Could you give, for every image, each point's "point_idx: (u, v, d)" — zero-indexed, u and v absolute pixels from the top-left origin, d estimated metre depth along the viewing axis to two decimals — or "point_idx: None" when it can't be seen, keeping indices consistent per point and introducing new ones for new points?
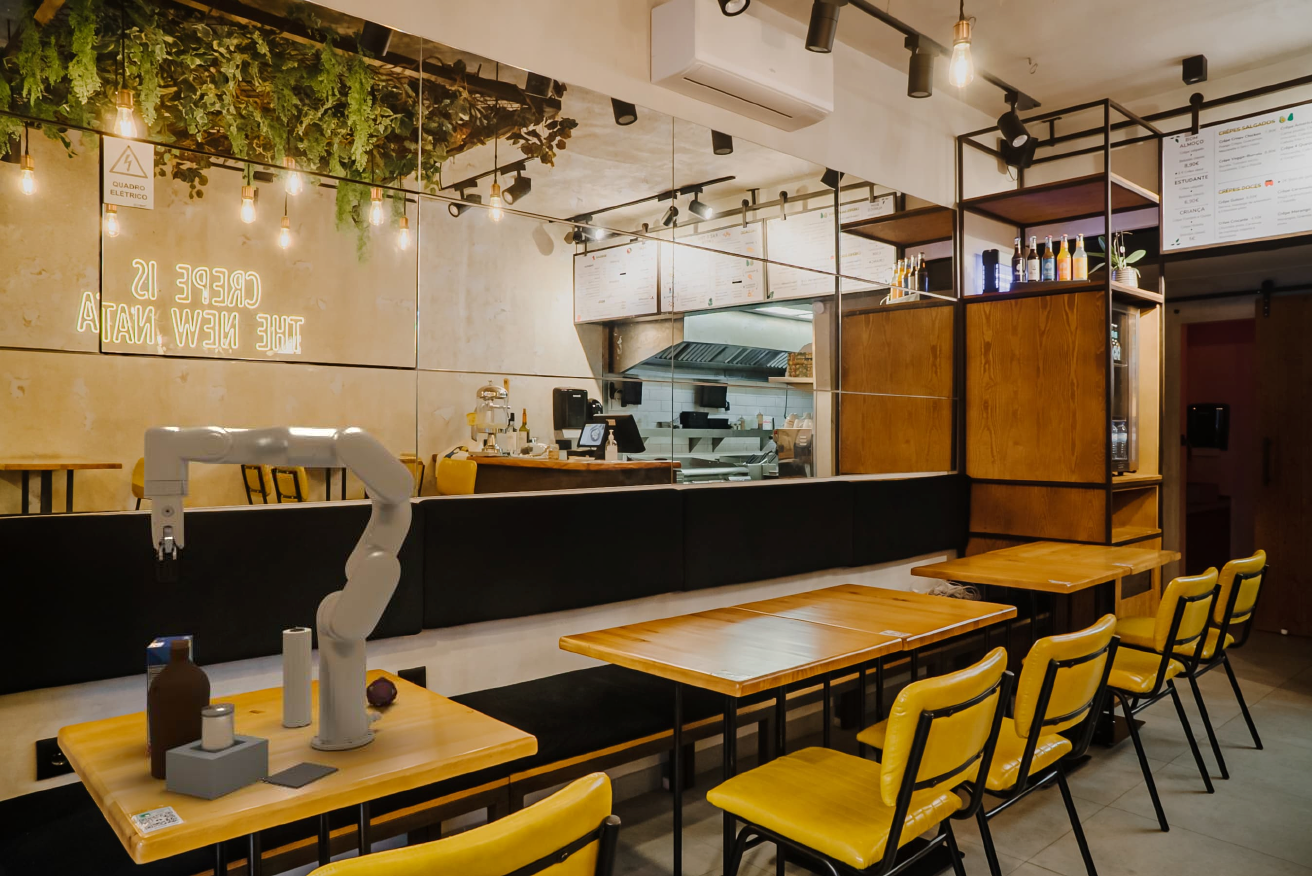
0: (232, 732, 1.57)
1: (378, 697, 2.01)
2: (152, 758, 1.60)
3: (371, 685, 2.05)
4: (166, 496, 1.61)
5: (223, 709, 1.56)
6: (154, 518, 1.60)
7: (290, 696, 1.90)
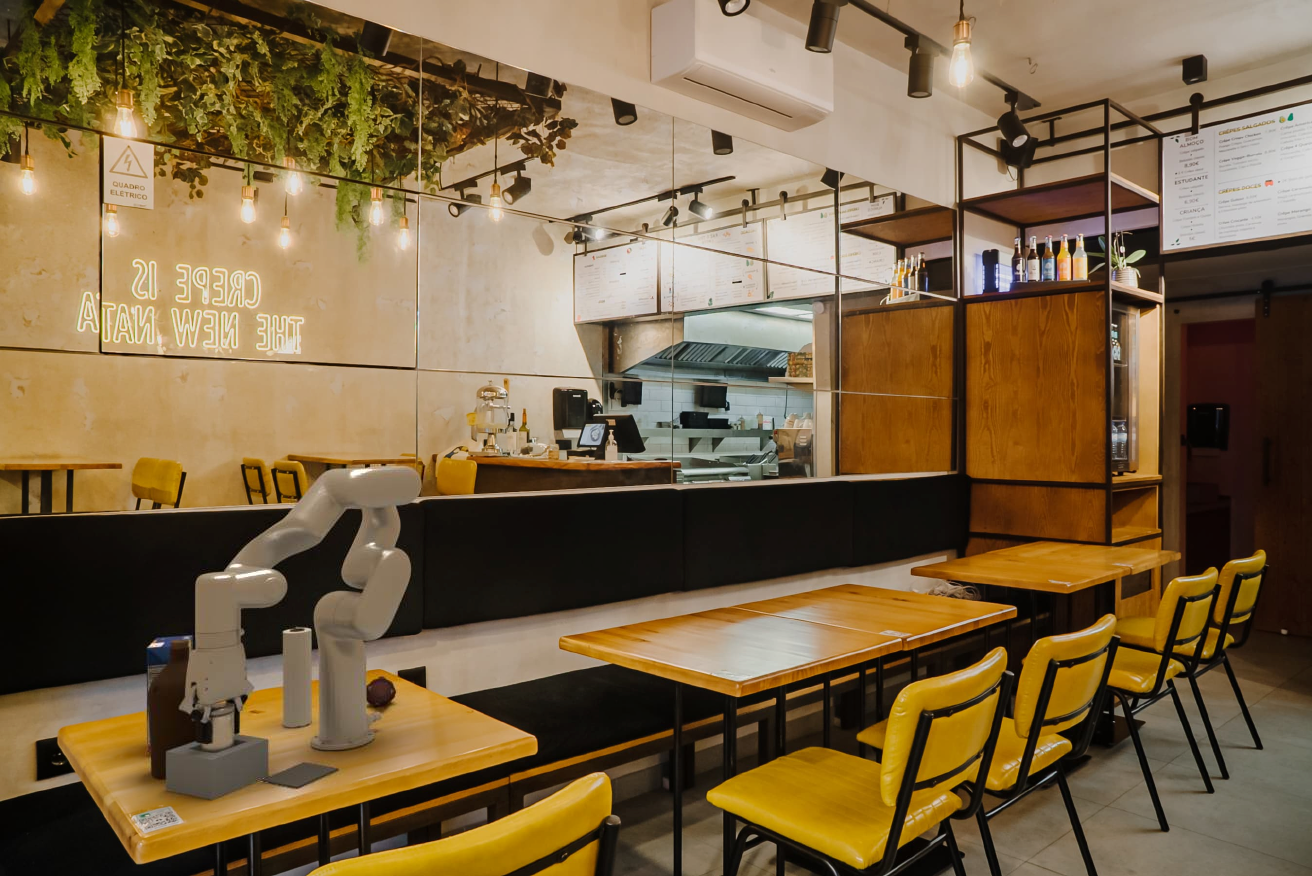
0: (232, 732, 1.57)
1: (376, 697, 2.01)
2: (152, 758, 1.60)
3: (370, 685, 2.06)
4: None
5: (223, 709, 1.56)
6: (244, 664, 1.60)
7: (290, 696, 1.90)
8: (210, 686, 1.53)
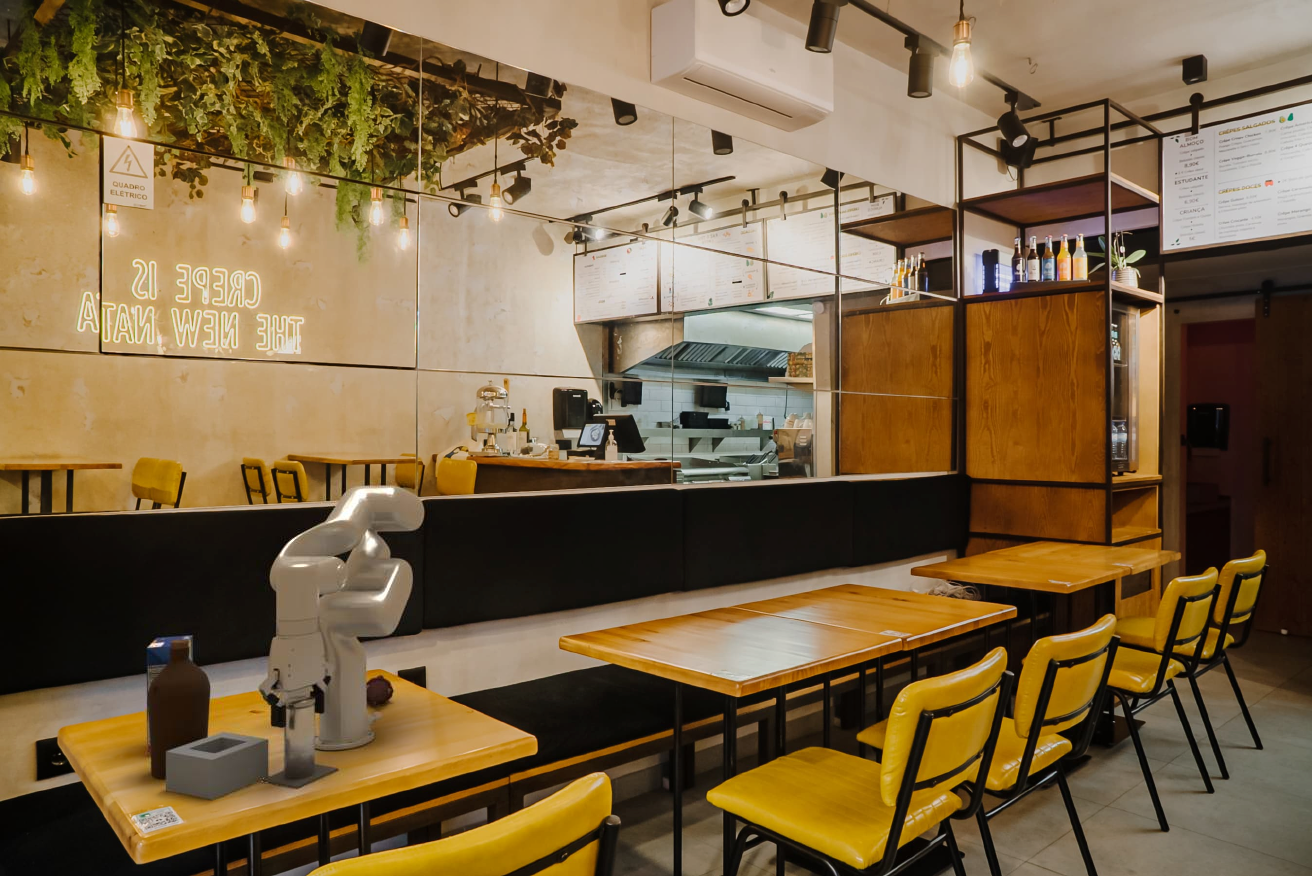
0: (313, 724, 1.60)
1: (372, 696, 2.02)
2: (152, 758, 1.60)
3: (367, 683, 2.07)
4: None
5: (305, 701, 1.59)
6: (322, 651, 1.63)
7: (290, 696, 1.90)
8: (292, 673, 1.56)
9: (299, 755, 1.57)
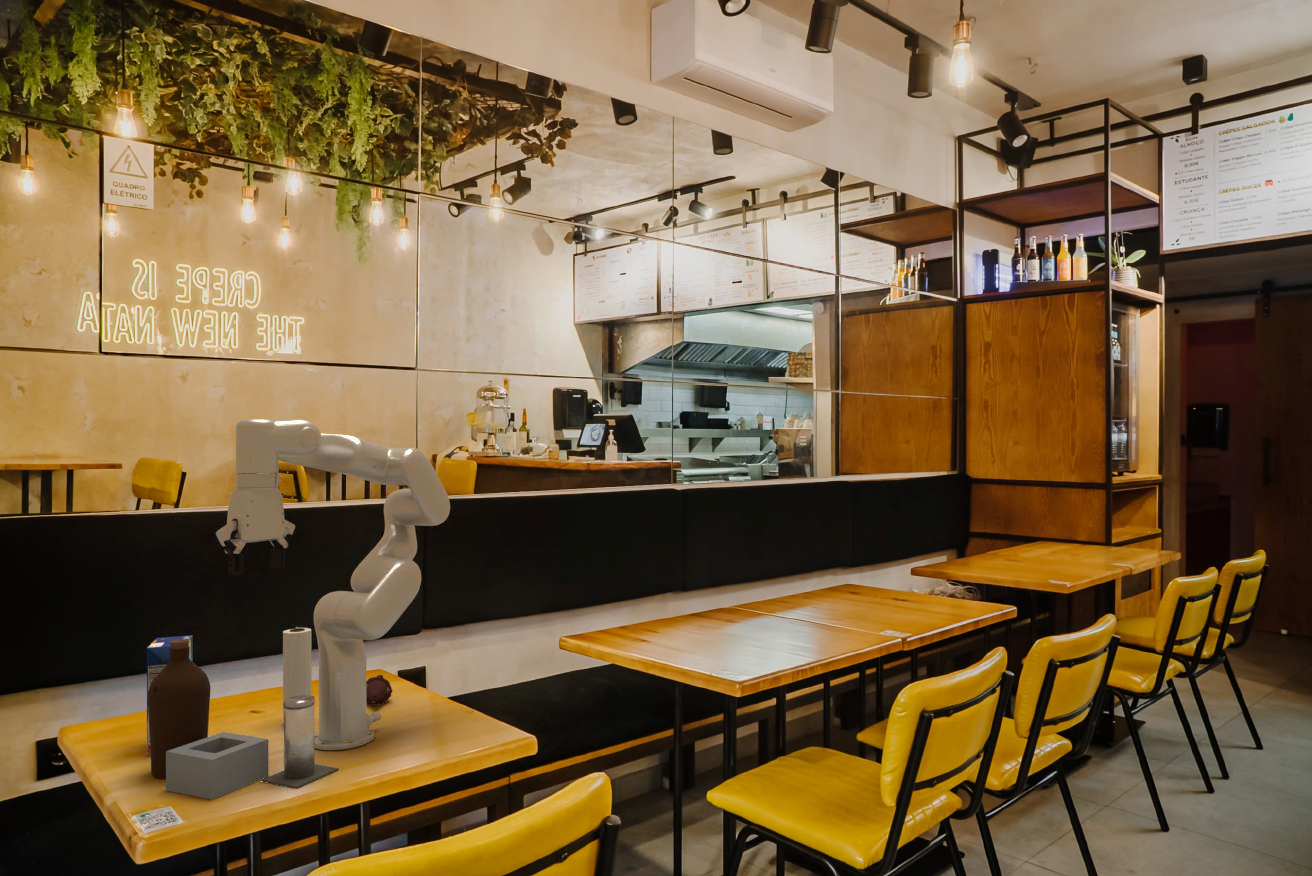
0: (313, 724, 1.60)
1: (371, 695, 2.03)
2: (152, 758, 1.60)
3: (366, 683, 2.07)
4: None
5: (304, 701, 1.59)
6: (281, 508, 1.67)
7: (290, 696, 1.90)
8: (250, 523, 1.60)
9: (299, 756, 1.57)
